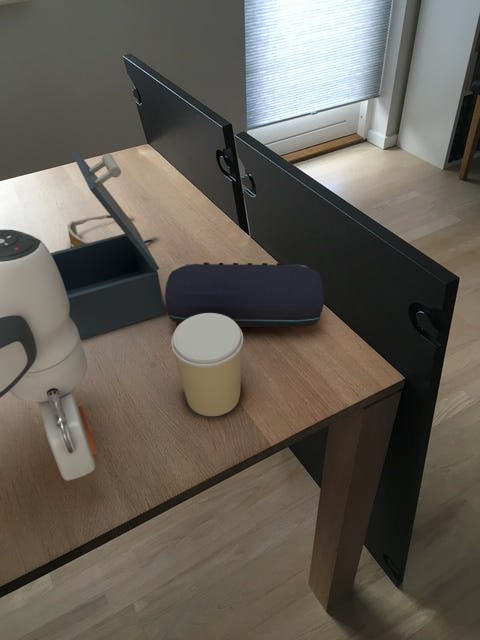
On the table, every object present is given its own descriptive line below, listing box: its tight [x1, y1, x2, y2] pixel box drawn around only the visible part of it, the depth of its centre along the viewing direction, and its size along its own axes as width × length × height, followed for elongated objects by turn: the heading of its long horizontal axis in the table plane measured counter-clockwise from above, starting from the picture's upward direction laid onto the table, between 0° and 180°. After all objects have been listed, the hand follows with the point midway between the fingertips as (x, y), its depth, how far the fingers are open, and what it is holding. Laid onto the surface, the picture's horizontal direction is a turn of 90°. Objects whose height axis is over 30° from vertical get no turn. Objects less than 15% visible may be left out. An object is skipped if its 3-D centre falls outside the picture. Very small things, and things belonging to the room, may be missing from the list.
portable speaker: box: [164, 262, 325, 328], centre depth 86 cm, size 25×10×10 cm, turn 86°
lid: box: [70, 148, 160, 272], centre depth 83 cm, size 17×14×5 cm
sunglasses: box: [67, 214, 154, 248], centre depth 107 cm, size 14×15×5 cm
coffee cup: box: [170, 313, 244, 417], centre depth 73 cm, size 9×9×12 cm
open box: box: [50, 233, 166, 341], centre depth 91 cm, size 17×14×9 cm
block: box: [77, 405, 98, 456], centre depth 68 cm, size 5×5×5 cm
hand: (72, 437), depth 69 cm, fingers closed on block, 4 cm apart
